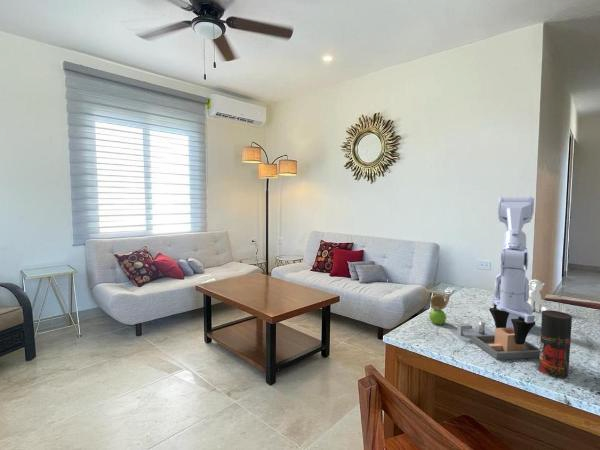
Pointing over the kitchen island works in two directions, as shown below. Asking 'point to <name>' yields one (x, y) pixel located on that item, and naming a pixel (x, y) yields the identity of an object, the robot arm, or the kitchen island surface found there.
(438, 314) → the green base glass goblet
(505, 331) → the orange hollow square box
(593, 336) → the kitchen island surface
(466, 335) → the slate board
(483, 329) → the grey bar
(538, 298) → the white creature statuette
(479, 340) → the tray
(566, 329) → the deodorant
